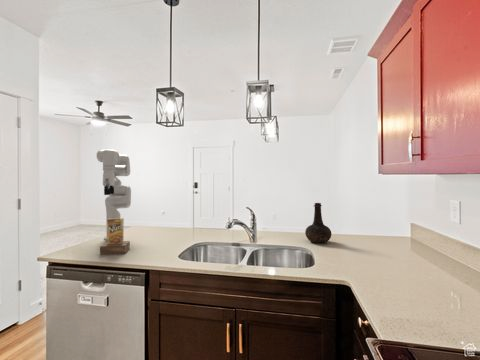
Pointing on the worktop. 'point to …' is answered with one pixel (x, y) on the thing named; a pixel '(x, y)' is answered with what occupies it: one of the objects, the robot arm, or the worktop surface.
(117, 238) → the candy box
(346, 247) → the worktop surface
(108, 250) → the walnut block
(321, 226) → the glass bottle
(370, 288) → the worktop surface
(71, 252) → the worktop surface
